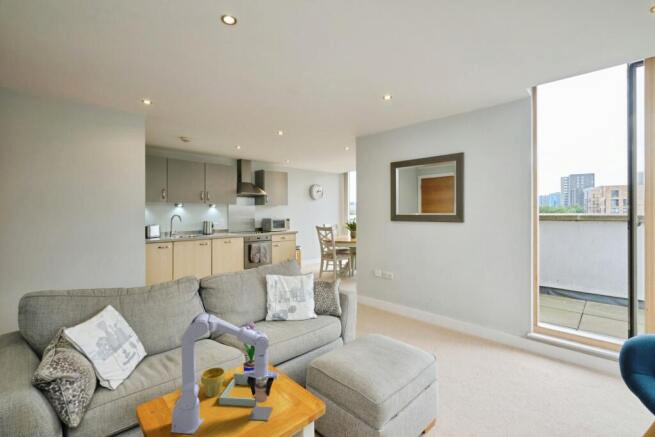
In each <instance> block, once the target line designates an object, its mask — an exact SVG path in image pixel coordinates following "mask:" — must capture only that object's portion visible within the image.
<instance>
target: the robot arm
mask: <svg viewBox="0 0 655 437" xmlns="http://www.w3.org/2000/svg"><path fill="white" fill-rule="evenodd" d="M216 331H220V332H222V333H225V334H228V335H231V336H235V338H236V339H237V341H239V342H240V343H243V344H244V343H246V344H247V345H249V346H250V347H251V346H254V347H255V352H254V357H253V360H254V370H253V371H245V372H244V371H243V373H244V378H246V377H248V380H247V383H248V386H249V388H250V390H251V395H252V397H253V396H254V397H255V389H254V385H255V384H256V380H261V379H263V378H268V380H267V381H266V385H267V397H270V393H271V389H272V385H273V382H274V380H277V381H278V379H279V372H275V371H272V370H269V350H268V349H269V346H270V343H269V338H268V335H267V334H266V333H265V332H264V331H260V330H258V331H257V330H256V331H254V330H252V329H250V327H248V326H247V327H245V326H241V327H238V325H237V326H236V325H235V324H232V323H231V322H228V321H227V320H224V319H221V318H219V317H217V316H216V315H214V314H209V312H208V313H207V312H201V313H199V314H197V315H196V316H195V317H194V318H192V320H191V322H190V323H189V325H188V326H187V328H186V329H185V330H184V332H183V334H182V336H181V338H180V340H181V341H180V345H181V346H180V347H181V350H180V351H181V373H182V375H181V376H182V378H181V380H182V381H181V382H182V384H181V389H180V396H181V397H180V396H179V398H180V399H179V398H178V399H179V403H177V404H176V403H175V404H176V405H174V407H173V409H172V412H171V430H170V433H178V434H188V435H189V434H190V435H191V434H192V435H194V434H195V433H196V431H197V430H198V429H199V427H200V426H201V425H202V423H203V422H204V421H205V419H204V418H200V399H199V397H198V396H199V392H200V384H199V383H198V378H197V374H196V371H197V370H196V345H195V344H196V340H197V339H198V338H201V337H202V336H204V335H206V334H207V333H208V332H209V333H210V334H211V333H214V332H216Z"/></svg>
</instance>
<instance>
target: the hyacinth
mask: <svg viewBox="0 0 655 437" xmlns="http://www.w3.org/2000/svg"><path fill="white" fill-rule="evenodd" d="M247 326H248V327H250V329H252V330H254V331H257V327H256V324H255V323H254V321H252V320H248V321H247V323H246V324H245V326H244V327H247ZM248 345H249V344H246V343H244V342H243V346H244V347H245V348H242V350H243V351H245V352H246V353H247V356H248V357H249V359H248V360H245V361H244V362H243V363H242V366H243V373H244V372H245V371H253V370H254V352H255V347H254V346H251V345H250V347H249V346H248Z"/></svg>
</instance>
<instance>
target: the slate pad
mask: <svg viewBox="0 0 655 437" xmlns="http://www.w3.org/2000/svg"><path fill="white" fill-rule="evenodd" d="M273 408H274V407H273V406H261V405H257V406H253V409H252V411H251V413H250V415H249V417H248V420H249V421H261V422H262V421H263V422H265V421H266V422H268V421H269V418H270V416H271V413H272V411H273V410H274V409H273Z"/></svg>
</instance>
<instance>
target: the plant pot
mask: <svg viewBox="0 0 655 437" xmlns="http://www.w3.org/2000/svg"><path fill="white" fill-rule="evenodd" d="M225 371H226V370H225V369H224V368H222V367H216V366H215V367H210V368H208V369H207V368H206V370H204V371H203V372H202V373H201V375H200V376H201V377H200V378H201V380H200V381H201V384H202V385H203V390H204V395H205V396H206V397H208V398H215V397H217V396H219V395H220V394H221V391H222V386H223V383H224V380H225V379H226V372H225Z"/></svg>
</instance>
